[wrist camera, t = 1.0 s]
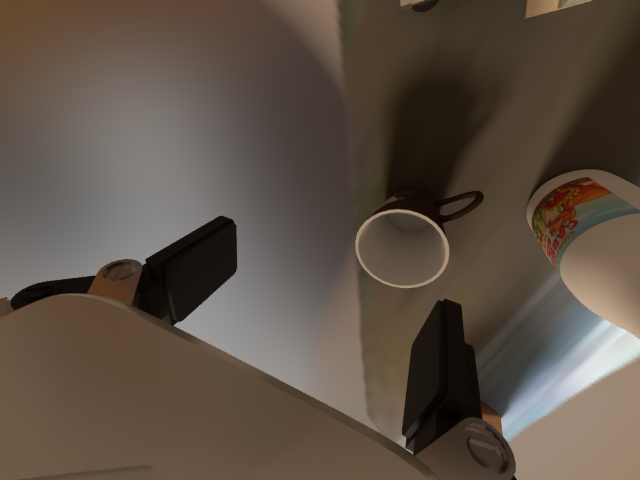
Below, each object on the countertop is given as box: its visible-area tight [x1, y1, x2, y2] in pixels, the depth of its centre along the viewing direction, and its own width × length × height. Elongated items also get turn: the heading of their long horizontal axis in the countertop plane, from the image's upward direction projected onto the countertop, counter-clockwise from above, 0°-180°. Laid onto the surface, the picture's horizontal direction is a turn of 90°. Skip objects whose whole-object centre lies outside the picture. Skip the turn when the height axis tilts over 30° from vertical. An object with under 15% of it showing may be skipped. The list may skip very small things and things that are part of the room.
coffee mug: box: [355, 187, 484, 288], centre depth 28 cm, size 12×9×10 cm
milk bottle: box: [526, 169, 640, 339], centre depth 19 cm, size 8×8×20 cm
